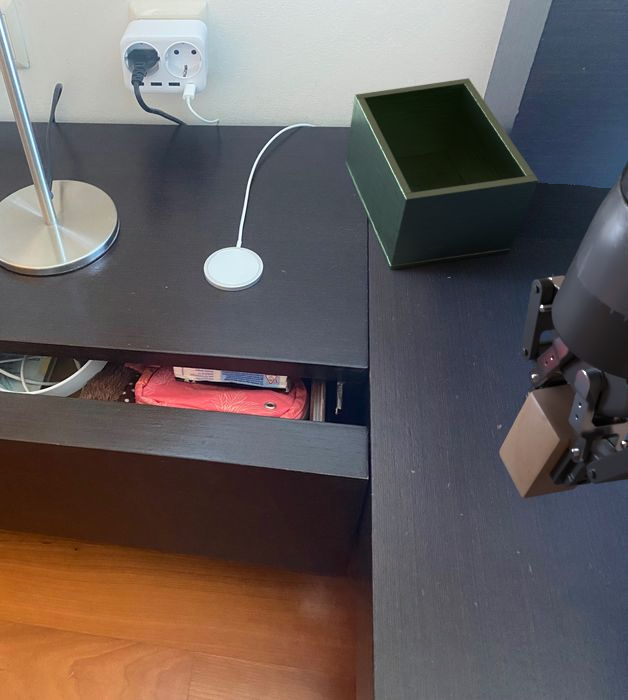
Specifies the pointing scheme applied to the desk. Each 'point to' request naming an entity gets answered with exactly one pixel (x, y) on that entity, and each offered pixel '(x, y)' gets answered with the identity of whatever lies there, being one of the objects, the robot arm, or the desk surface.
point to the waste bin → (436, 174)
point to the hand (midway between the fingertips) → (550, 446)
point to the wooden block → (539, 440)
